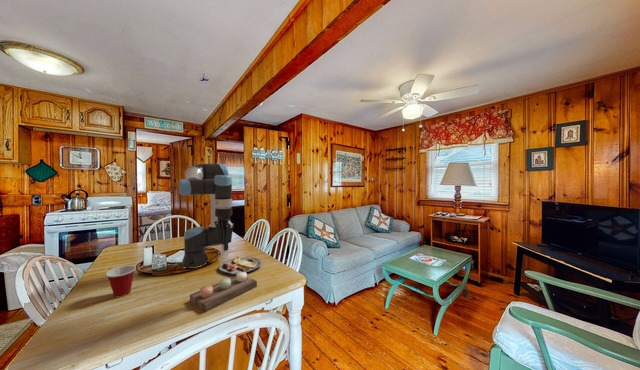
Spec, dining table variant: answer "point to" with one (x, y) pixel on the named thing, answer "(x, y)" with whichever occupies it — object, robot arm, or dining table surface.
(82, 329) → the dining table surface
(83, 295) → the dining table surface
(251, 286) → the button board
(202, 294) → the terracotta button
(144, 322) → the dining table surface
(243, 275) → the cream button
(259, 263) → the food plate
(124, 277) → the plastic cup
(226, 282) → the sage button
